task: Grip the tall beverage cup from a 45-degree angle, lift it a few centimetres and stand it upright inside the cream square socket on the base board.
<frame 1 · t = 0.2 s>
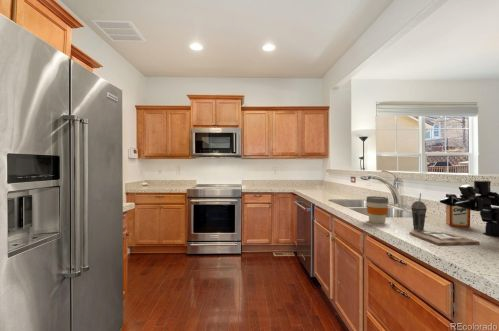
hand: (447, 202, 129), 17 cm above the counter, tool horizontal, fingers open, 9 cm apart
beverage cup: (418, 229, 142), on the counter
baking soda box: (457, 225, 151), on the counter
reusable coffee cup: (377, 221, 161), on the counter
base board: (442, 238, 124), on the counter
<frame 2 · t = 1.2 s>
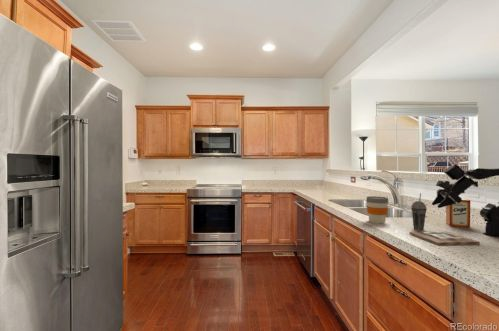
hand: (435, 205, 139), 13 cm above the counter, tool tilted 45°, fingers open, 9 cm apart
nothing on the counter moved.
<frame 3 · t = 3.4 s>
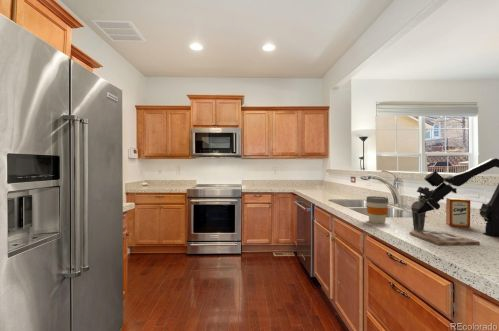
hand: (415, 211, 142), 10 cm above the counter, tool tilted 45°, fingers closed on beverage cup, 7 cm apart
beverage cup: (418, 229, 142), on the counter, touching gripper
everything else where it was.
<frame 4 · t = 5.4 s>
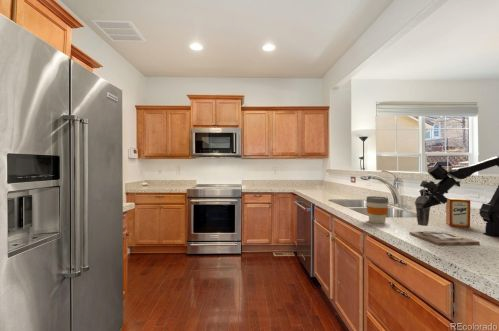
hand: (419, 206, 137), 13 cm above the counter, tool tilted 45°, fingers closed on beverage cup, 7 cm apart
beverage cup: (422, 225, 137), point 3 cm above the counter, touching gripper
everything else where it was.
when the fingers open (11 cm above the counter, at t = 7.5 s): beverage cup stays where it is, resting on base board.
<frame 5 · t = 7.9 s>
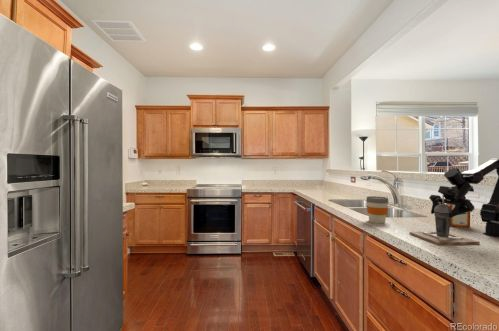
hand: (440, 215, 123), 12 cm above the counter, tool tilted 45°, fingers open, 9 cm apart
beverage cup: (442, 236, 124), point 1 cm above the counter, touching base board
everything else where it was.
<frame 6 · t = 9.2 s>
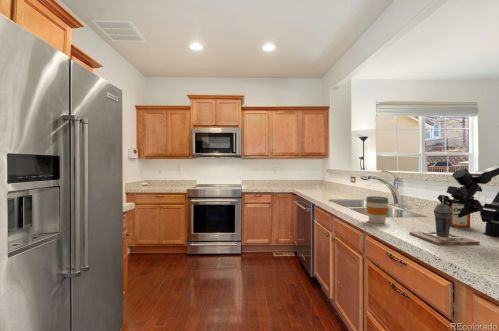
hand: (448, 215, 125), 11 cm above the counter, tool tilted 45°, fingers open, 9 cm apart
nothing on the counter moved.
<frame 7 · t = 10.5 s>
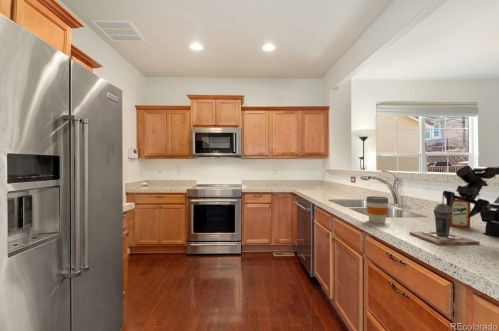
hand: (457, 214, 126), 12 cm above the counter, tool tilted 35°, fingers open, 9 cm apart
nothing on the counter moved.
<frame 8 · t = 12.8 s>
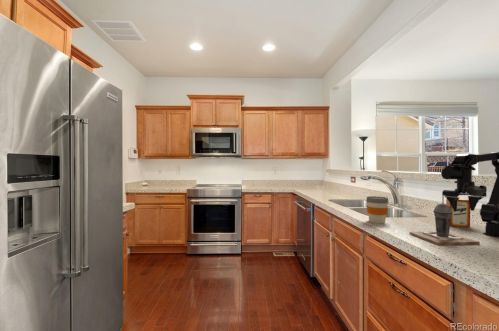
hand: (463, 210, 128), 13 cm above the counter, tool pointing down, fingers open, 9 cm apart
nothing on the counter moved.
at the end: beverage cup 0.1 cm off-centre on the base board, point 1.1 cm above the base board's base; beverage cup tilted 0°; the gripper is holding nothing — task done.
